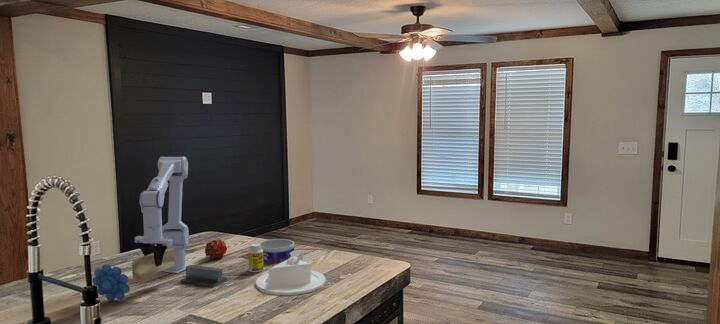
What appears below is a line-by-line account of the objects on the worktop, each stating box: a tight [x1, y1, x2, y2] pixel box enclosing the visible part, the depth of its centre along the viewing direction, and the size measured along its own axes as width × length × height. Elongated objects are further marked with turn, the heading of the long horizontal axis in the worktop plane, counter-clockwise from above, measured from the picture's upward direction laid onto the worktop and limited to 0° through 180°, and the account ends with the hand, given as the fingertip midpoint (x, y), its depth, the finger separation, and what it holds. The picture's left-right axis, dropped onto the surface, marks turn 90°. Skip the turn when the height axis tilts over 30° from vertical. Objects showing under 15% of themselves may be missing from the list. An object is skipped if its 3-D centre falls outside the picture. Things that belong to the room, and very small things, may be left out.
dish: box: [255, 249, 326, 296], centre depth 168 cm, size 25×25×11 cm
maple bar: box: [131, 248, 175, 280], centre depth 160 cm, size 3×16×6 cm, turn 160°
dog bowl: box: [258, 238, 295, 263], centre depth 200 cm, size 15×15×6 cm
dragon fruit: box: [204, 239, 228, 260], centre depth 198 cm, size 8×8×12 cm
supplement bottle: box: [248, 243, 264, 273], centre depth 181 cm, size 6×6×10 cm
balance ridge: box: [180, 264, 228, 288], centre depth 169 cm, size 14×8×5 cm, turn 70°
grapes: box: [91, 264, 131, 302], centre depth 150 cm, size 12×7×12 cm, turn 92°
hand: (154, 264), depth 160 cm, fingers closed on maple bar, 3 cm apart
